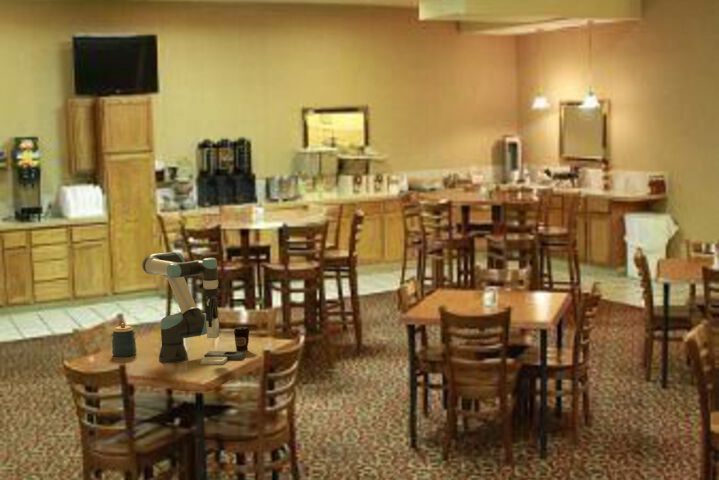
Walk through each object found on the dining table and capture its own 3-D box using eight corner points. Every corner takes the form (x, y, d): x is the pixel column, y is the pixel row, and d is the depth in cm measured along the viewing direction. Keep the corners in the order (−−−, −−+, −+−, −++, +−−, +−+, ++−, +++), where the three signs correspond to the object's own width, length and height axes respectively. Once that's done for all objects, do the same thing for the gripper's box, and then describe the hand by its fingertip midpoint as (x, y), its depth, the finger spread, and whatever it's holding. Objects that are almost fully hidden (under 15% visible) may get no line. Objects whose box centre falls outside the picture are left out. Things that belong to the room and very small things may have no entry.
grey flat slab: (204, 359, 534) (204, 354, 534) (209, 355, 543) (209, 351, 543) (240, 360, 531) (240, 355, 531) (245, 356, 540) (245, 351, 540)
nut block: (207, 338, 524) (206, 319, 523) (210, 336, 529) (209, 317, 528) (216, 338, 523) (215, 319, 522) (219, 336, 528) (218, 317, 527)
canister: (107, 355, 550) (105, 323, 548) (127, 350, 560) (125, 319, 558) (121, 358, 542) (119, 326, 540) (141, 354, 551) (139, 322, 549)
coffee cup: (247, 353, 547) (246, 329, 546) (232, 352, 549) (231, 329, 547) (251, 349, 556) (251, 326, 554) (237, 349, 557) (236, 326, 556)
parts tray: (200, 364, 524) (200, 360, 524) (205, 360, 533) (205, 356, 533) (222, 364, 523) (222, 361, 522) (227, 360, 531) (227, 356, 531)
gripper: (212, 290, 514) (214, 335, 516) (222, 285, 531) (224, 328, 534) (198, 290, 515) (200, 335, 518) (209, 285, 533) (211, 328, 535)
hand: (212, 331), depth 526 cm, fingers closed on nut block, 5 cm apart
